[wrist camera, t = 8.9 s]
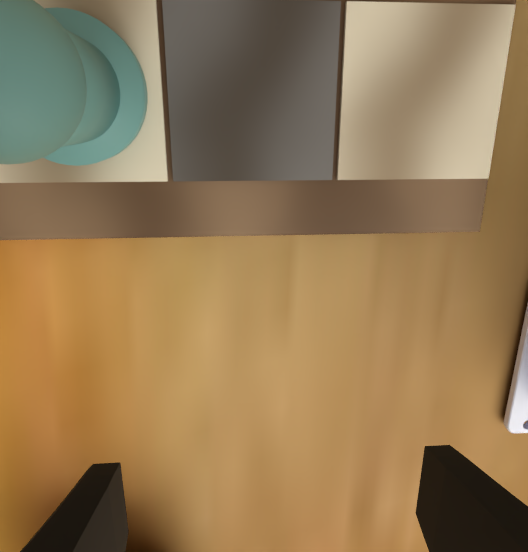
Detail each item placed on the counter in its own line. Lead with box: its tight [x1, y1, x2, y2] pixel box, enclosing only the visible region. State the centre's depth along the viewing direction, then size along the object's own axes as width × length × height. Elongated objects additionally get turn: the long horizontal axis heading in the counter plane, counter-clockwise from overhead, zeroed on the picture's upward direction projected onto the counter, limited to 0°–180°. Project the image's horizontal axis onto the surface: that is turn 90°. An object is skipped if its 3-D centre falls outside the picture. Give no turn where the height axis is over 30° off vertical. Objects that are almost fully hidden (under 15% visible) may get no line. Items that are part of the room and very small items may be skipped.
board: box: [0, 0, 516, 240], centre depth 16 cm, size 24×10×1 cm, turn 90°
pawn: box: [0, 0, 148, 166], centre depth 12 cm, size 5×5×8 cm
